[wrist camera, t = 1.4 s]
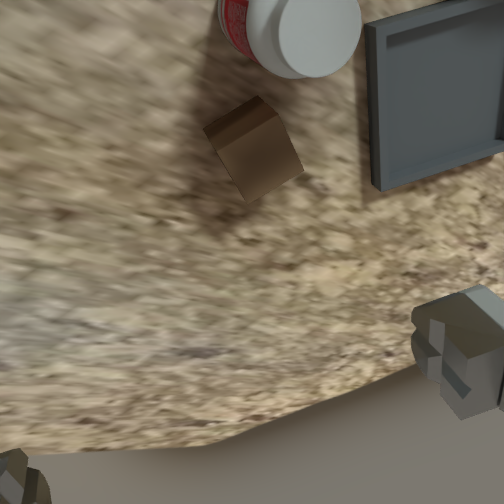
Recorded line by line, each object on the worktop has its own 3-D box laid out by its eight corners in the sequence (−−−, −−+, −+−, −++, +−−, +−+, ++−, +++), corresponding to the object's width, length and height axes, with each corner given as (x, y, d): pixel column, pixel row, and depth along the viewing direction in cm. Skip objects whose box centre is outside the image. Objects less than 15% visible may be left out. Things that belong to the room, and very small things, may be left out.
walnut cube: (202, 128, 36) (216, 151, 32) (257, 95, 36) (278, 114, 32) (231, 177, 39) (247, 204, 35) (282, 147, 39) (304, 170, 35)
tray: (364, 23, 35) (376, 27, 34) (524, -22, 37) (541, -21, 35) (371, 183, 43) (381, 192, 42) (502, 140, 45) (515, 147, 44)
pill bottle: (273, 69, 35) (334, 111, 26) (201, 29, 32) (242, 61, 23) (315, -14, 33) (397, 1, 24) (241, -65, 30) (305, -69, 21)
